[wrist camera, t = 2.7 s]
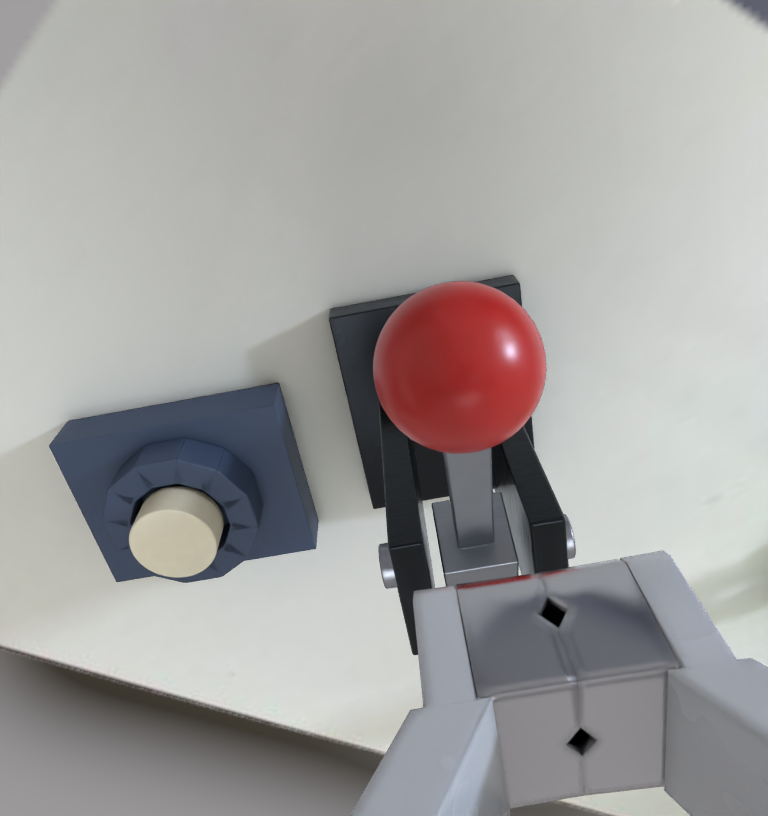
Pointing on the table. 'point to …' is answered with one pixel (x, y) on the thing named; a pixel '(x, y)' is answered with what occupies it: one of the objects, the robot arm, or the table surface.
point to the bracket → (437, 467)
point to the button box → (193, 474)
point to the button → (177, 532)
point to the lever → (463, 408)
